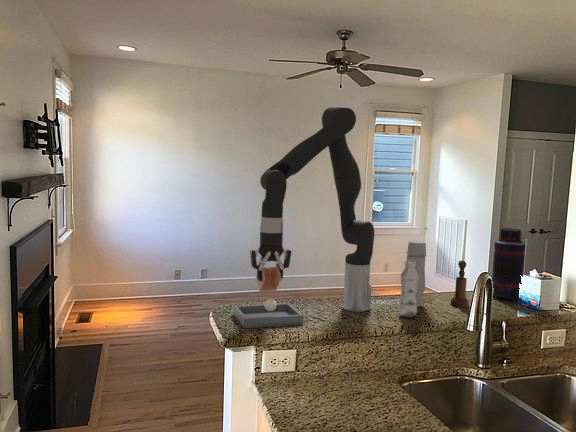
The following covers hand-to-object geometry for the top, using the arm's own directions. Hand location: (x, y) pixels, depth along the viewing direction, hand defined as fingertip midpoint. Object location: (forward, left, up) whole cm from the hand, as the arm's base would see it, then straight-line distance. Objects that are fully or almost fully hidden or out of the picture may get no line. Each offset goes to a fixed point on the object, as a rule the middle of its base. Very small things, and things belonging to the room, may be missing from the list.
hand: (269, 280), depth 155 cm
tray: (0, -1, -13) cm, 14 cm away
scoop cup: (0, -4, -2) cm, 5 cm away
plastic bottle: (-50, +6, -14) cm, 52 cm away
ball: (0, +2, -8) cm, 8 cm away
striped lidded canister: (-110, -10, -14) cm, 111 cm away
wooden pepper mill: (-80, -3, -14) cm, 81 cm away
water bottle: (-62, -7, -14) cm, 64 cm away
